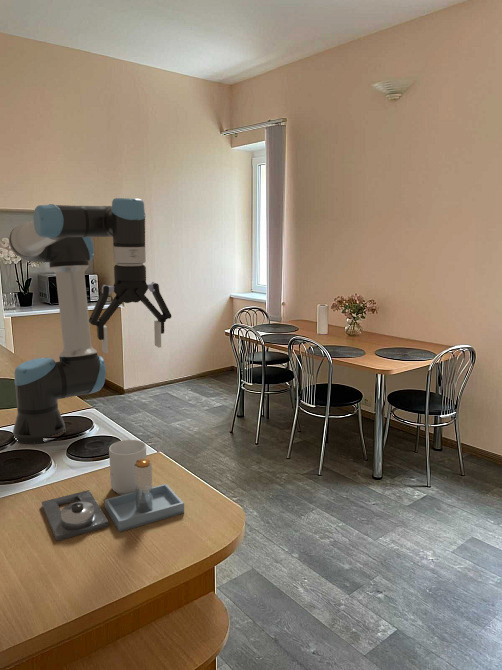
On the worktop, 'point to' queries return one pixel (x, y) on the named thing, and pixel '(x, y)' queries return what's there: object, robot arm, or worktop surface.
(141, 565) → the worktop surface
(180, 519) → the worktop surface
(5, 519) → the worktop surface
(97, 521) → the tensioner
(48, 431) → the robot arm
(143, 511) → the pin
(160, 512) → the tray
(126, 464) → the mug
